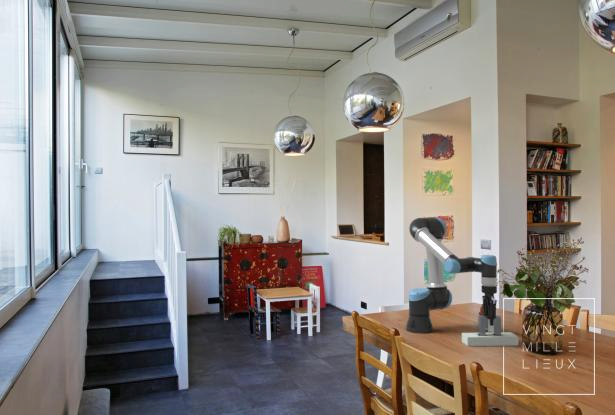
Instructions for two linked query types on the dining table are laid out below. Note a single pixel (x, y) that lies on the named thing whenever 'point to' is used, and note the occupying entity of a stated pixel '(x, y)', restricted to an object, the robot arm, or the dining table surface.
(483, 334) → the grey block
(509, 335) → the pale board with holes
